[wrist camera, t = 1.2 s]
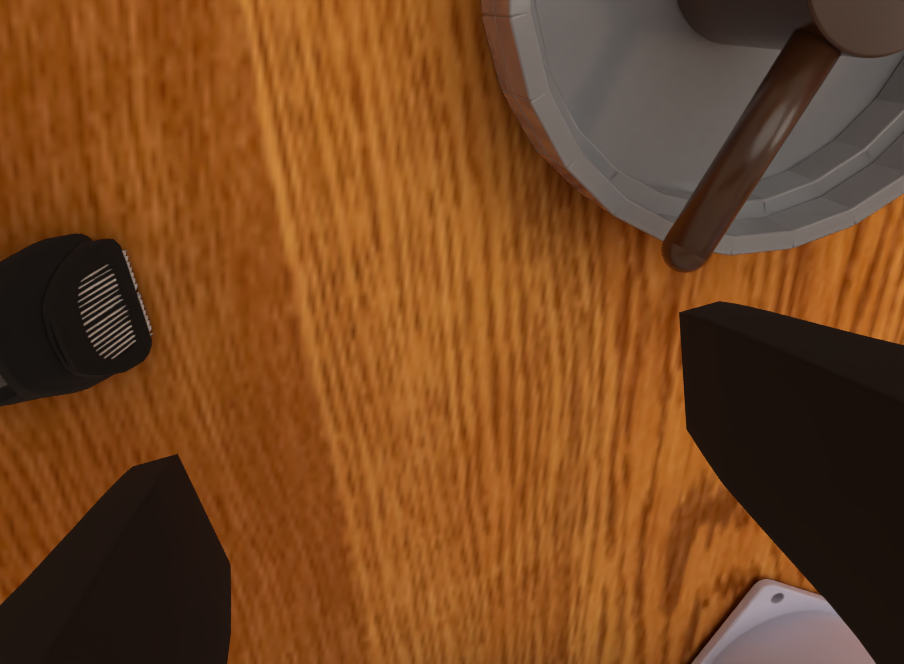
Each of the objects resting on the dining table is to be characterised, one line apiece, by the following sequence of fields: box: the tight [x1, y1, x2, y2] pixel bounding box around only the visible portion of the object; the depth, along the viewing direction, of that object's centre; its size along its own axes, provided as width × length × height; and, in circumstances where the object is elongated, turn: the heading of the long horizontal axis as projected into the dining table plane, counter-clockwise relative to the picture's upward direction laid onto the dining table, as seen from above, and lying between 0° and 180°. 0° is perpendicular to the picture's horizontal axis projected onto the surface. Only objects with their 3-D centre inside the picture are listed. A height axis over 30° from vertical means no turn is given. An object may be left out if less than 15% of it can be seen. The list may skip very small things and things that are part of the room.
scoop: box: [662, 0, 904, 273], centre depth 15 cm, size 4×9×5 cm, turn 152°
